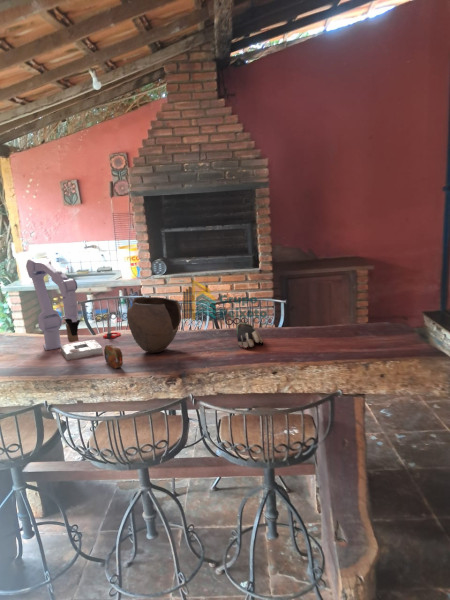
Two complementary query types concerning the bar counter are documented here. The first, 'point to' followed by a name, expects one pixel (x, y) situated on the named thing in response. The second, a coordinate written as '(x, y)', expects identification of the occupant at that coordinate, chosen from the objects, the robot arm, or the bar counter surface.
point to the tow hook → (109, 334)
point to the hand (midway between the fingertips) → (73, 334)
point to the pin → (70, 337)
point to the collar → (81, 349)
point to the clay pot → (154, 322)
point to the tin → (113, 356)
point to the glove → (247, 335)
